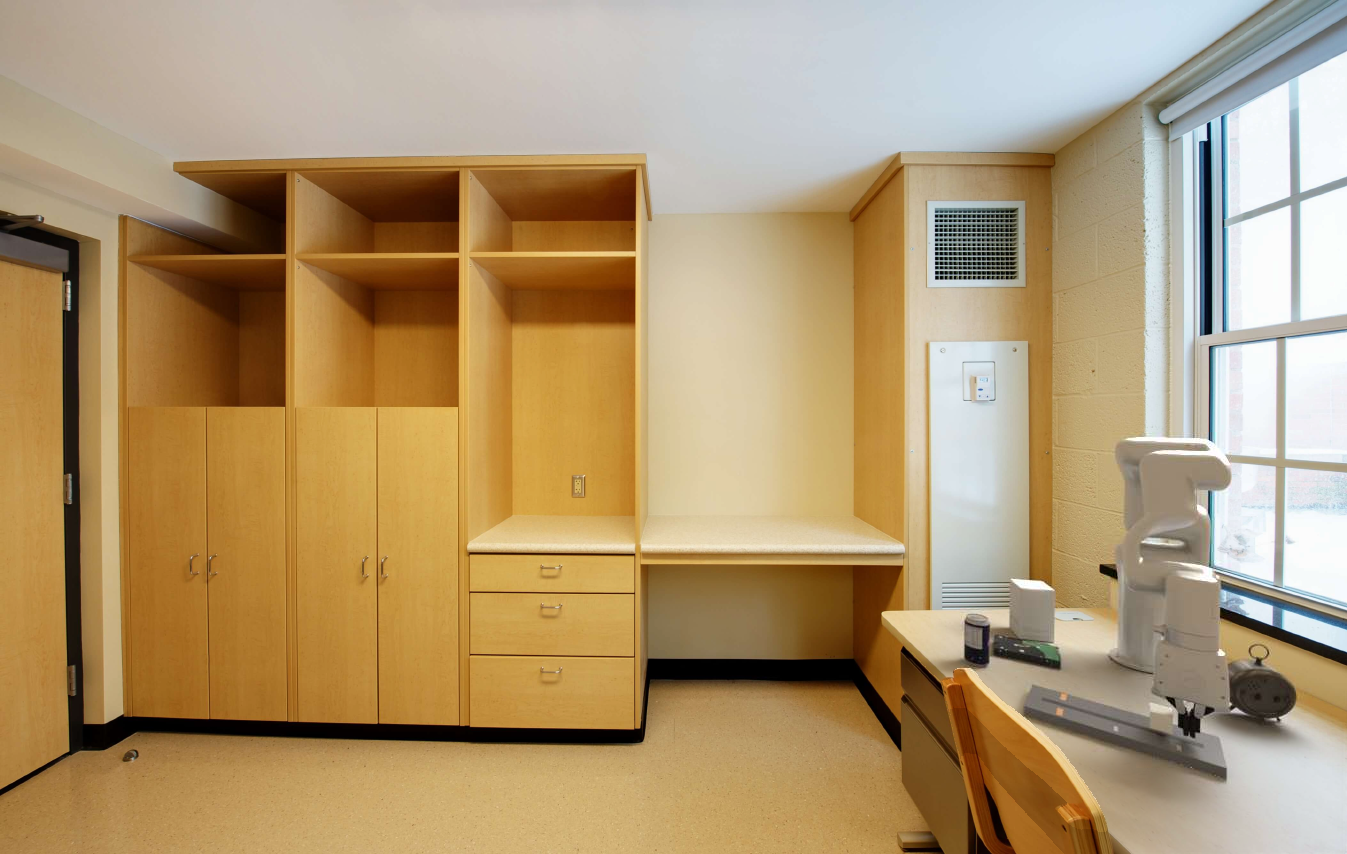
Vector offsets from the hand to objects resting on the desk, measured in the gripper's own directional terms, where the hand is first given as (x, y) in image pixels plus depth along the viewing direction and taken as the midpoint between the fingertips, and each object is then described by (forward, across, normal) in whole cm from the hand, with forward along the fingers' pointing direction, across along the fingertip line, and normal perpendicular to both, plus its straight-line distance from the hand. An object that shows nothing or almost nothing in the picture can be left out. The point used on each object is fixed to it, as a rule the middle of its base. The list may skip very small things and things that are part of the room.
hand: (1188, 733), depth 100 cm
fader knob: (+1, -4, 0) cm, 4 cm away
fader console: (+4, -10, 0) cm, 11 cm away
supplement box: (+4, -30, +44) cm, 54 cm away
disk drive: (+4, -29, +28) cm, 41 cm away
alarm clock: (+4, +12, +24) cm, 27 cm away
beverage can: (+4, -38, +14) cm, 41 cm away
